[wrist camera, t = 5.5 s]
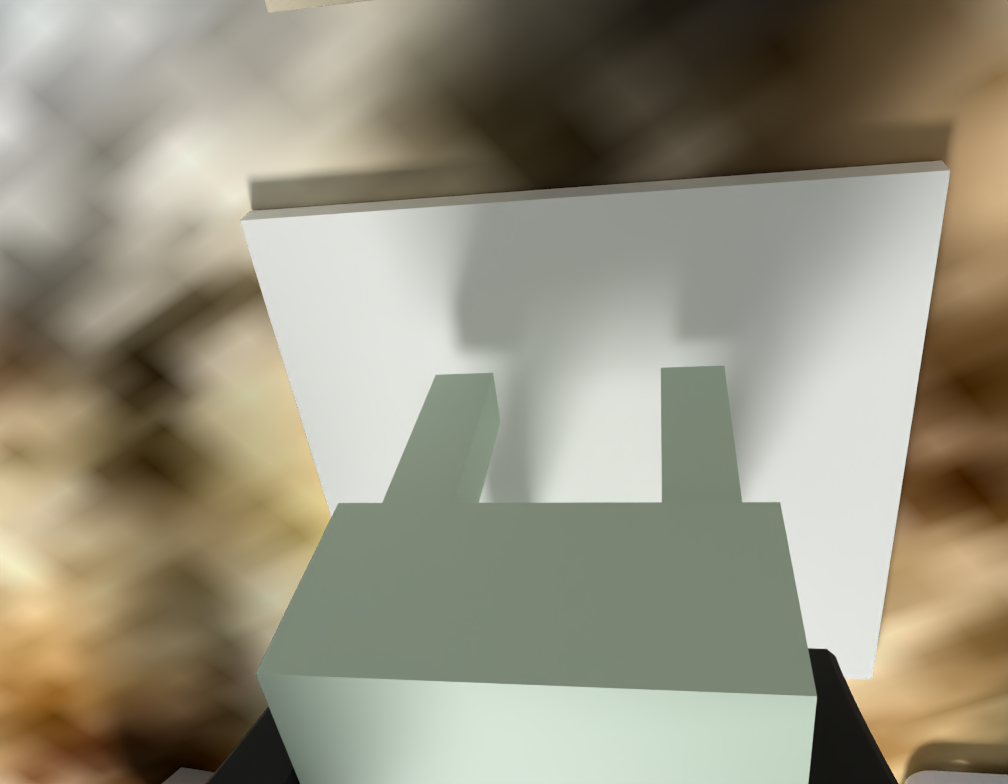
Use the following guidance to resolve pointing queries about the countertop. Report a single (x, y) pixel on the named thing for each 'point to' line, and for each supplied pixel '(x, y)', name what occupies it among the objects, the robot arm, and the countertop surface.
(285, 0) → the step
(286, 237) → the pad
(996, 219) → the countertop surface
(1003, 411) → the countertop surface
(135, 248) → the countertop surface
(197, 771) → the salt shaker
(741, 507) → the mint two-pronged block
